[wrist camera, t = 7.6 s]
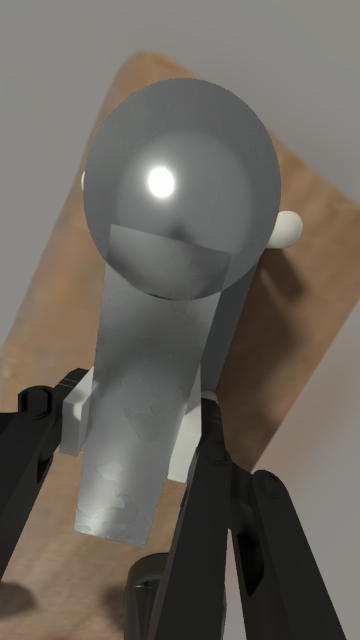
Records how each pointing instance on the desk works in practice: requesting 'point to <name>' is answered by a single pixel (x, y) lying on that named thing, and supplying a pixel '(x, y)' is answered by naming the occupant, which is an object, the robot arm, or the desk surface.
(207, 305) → the grey ball-ended handle
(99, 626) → the desk surface
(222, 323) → the pad
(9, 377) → the desk surface
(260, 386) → the desk surface
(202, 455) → the robot arm
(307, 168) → the desk surface
